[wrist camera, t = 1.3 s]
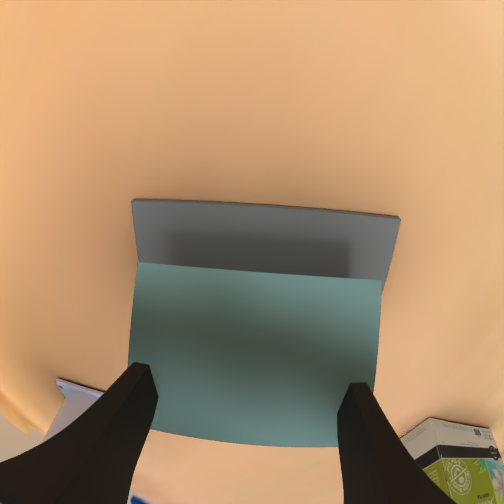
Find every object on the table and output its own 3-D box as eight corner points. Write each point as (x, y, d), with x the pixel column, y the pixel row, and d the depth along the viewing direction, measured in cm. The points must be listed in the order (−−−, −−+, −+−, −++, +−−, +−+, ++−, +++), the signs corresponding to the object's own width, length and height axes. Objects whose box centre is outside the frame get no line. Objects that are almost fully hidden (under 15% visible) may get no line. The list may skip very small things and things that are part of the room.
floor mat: (338, 404, 22) (339, 408, 22) (168, 390, 23) (166, 393, 23) (398, 216, 15) (400, 219, 15) (134, 198, 16) (131, 201, 15)
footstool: (338, 414, 15) (364, 445, 10) (162, 398, 16) (126, 422, 11) (349, 292, 17) (381, 280, 12) (172, 278, 17) (138, 262, 12)
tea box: (492, 424, 25) (520, 515, 12) (437, 463, 30) (453, 547, 16) (429, 413, 23) (459, 545, 10) (363, 458, 28) (372, 570, 14)
